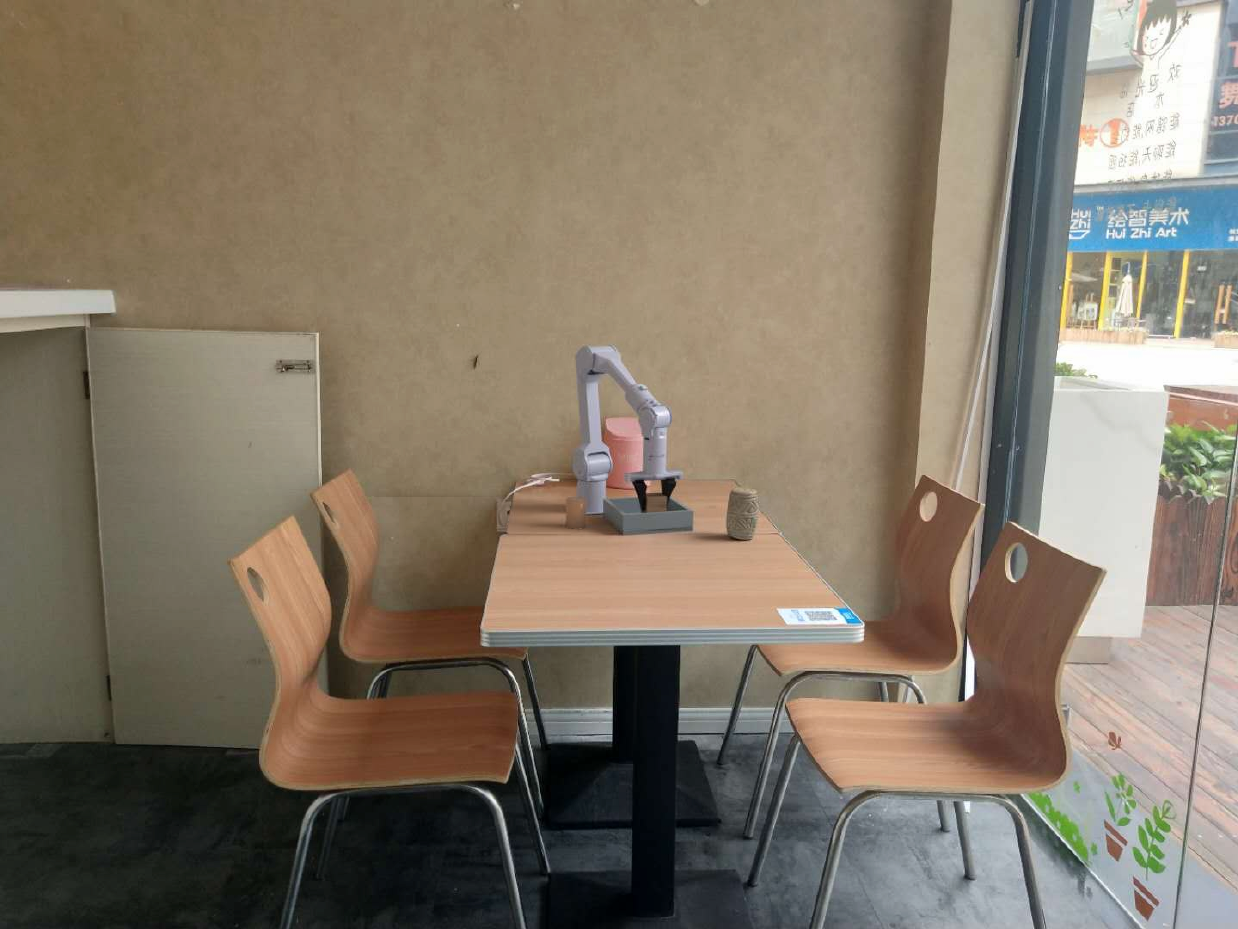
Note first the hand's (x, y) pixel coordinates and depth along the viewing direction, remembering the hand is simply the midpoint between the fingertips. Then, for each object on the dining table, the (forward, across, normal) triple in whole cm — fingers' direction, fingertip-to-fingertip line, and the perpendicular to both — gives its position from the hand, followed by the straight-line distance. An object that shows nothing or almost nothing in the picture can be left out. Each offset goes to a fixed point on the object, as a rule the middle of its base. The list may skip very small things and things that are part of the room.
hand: (653, 509), depth 223 cm
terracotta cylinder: (+5, -18, +7) cm, 20 cm away
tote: (+5, 0, +5) cm, 7 cm away
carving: (+5, +18, -13) cm, 23 cm away
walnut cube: (+2, 0, 0) cm, 2 cm away
